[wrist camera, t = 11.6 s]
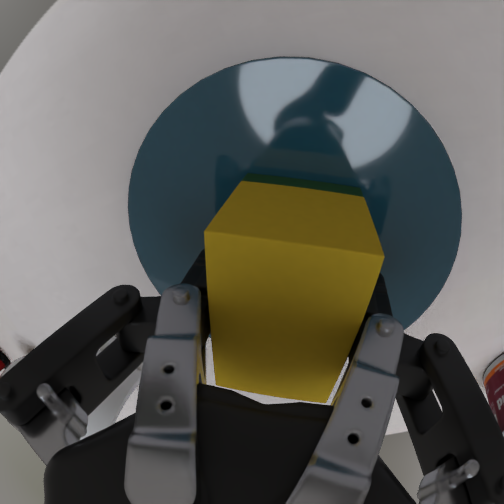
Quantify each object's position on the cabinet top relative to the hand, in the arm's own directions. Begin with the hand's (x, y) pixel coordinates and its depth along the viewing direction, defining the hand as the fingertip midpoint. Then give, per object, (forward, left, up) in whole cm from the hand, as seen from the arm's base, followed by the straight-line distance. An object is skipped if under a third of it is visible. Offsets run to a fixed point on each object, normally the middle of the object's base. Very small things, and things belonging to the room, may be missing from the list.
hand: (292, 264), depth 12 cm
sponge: (0, 0, -1) cm, 1 cm away
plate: (0, 0, -2) cm, 2 cm away
